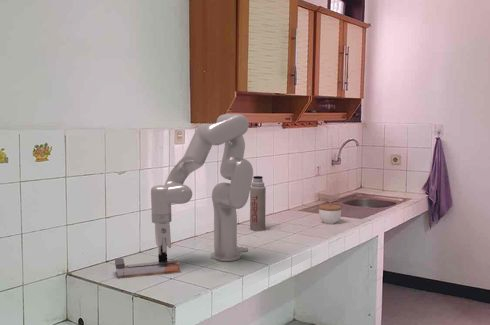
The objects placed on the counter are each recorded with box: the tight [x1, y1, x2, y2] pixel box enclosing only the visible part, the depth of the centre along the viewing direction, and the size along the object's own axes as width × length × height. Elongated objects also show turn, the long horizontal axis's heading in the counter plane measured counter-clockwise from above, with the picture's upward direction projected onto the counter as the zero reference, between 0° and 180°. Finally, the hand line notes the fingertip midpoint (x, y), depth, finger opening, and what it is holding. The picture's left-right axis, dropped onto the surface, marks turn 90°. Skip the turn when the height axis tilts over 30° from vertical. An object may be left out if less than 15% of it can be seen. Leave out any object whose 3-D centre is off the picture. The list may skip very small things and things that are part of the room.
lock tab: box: [114, 258, 126, 270], centre depth 184 cm, size 3×7×2 cm, turn 18°
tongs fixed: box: [116, 264, 178, 278], centre depth 187 cm, size 22×7×3 cm, turn 108°
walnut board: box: [115, 265, 182, 279], centre depth 190 cm, size 23×15×1 cm, turn 108°
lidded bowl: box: [318, 202, 343, 225], centre depth 278 cm, size 13×13×11 cm
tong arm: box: [126, 259, 180, 269], centre depth 190 cm, size 19×3×2 cm, turn 110°
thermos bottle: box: [249, 175, 267, 232], centre depth 260 cm, size 8×8×28 cm
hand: (163, 264), depth 194 cm, fingers closed
